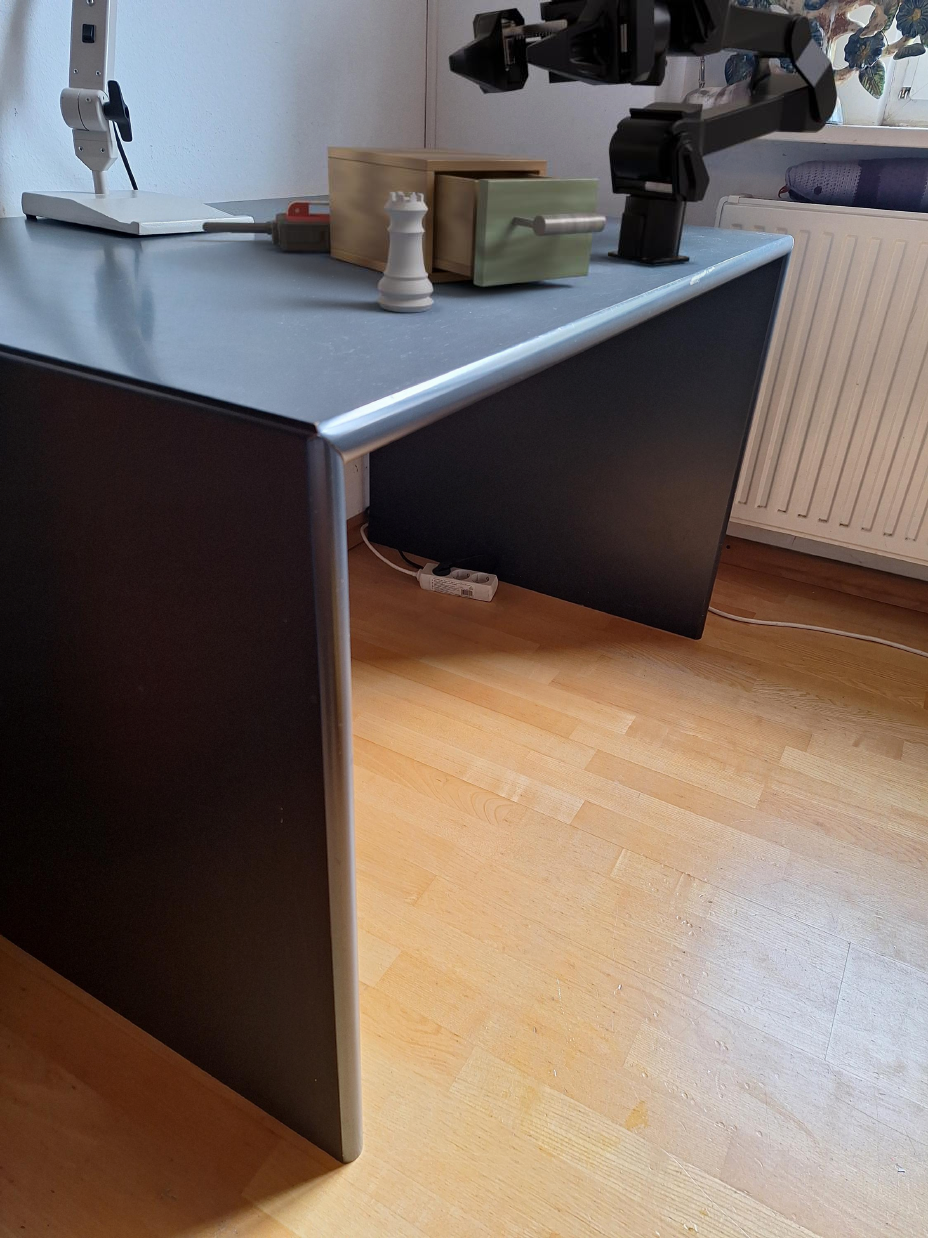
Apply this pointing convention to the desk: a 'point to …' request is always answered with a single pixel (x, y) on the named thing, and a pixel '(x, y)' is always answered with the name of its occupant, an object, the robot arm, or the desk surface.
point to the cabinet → (377, 171)
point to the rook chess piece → (405, 257)
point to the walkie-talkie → (288, 228)
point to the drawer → (513, 225)
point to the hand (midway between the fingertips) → (487, 59)
